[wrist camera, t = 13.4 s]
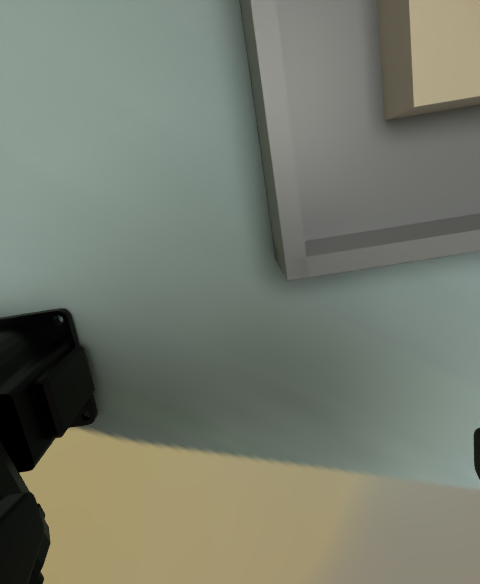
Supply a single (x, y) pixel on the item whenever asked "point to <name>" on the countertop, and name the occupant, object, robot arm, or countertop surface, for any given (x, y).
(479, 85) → the bore box
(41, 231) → the countertop surface
